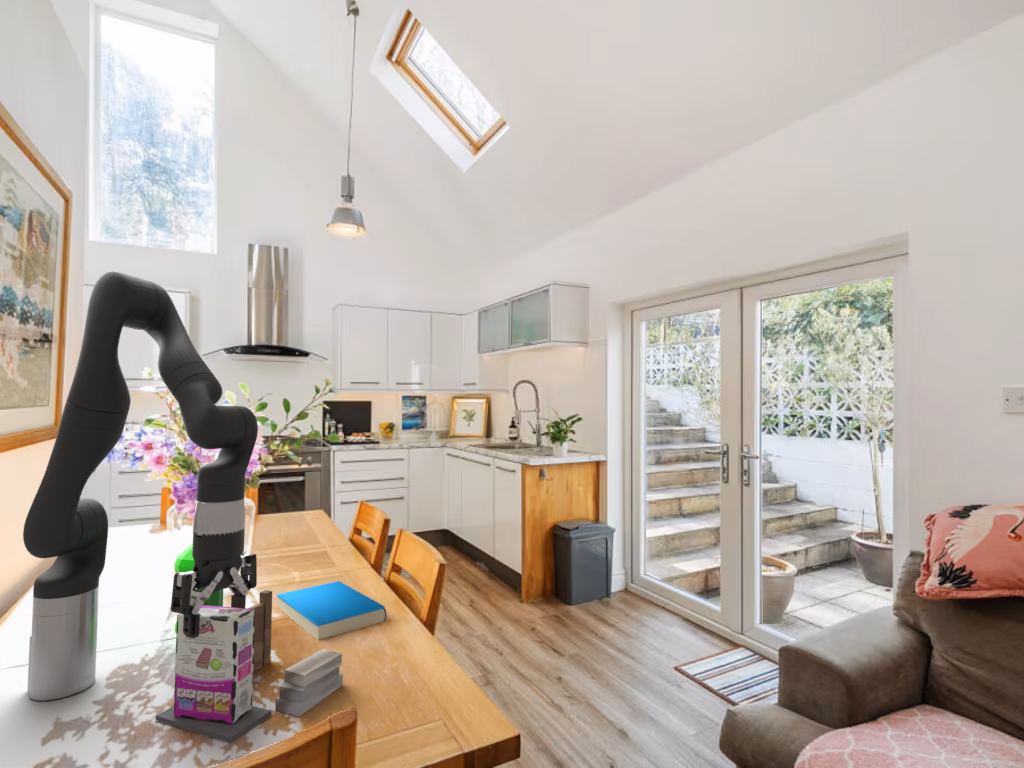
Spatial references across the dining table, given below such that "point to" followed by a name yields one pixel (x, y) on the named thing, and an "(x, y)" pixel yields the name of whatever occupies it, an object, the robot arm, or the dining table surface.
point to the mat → (217, 724)
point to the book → (330, 609)
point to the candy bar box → (215, 666)
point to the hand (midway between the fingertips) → (215, 626)
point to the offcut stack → (309, 682)
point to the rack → (262, 630)
